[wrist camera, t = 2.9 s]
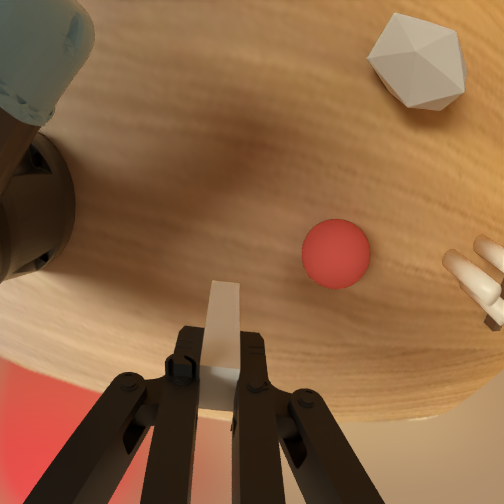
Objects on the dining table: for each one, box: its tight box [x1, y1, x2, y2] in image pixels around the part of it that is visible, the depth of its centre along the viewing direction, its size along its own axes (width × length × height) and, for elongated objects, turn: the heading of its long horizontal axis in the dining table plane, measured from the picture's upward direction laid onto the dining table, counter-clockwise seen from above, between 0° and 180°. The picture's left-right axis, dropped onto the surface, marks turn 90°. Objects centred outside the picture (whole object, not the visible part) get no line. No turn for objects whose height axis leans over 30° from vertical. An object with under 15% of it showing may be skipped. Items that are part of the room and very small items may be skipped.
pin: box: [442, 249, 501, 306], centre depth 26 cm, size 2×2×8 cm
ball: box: [302, 219, 370, 289], centre depth 26 cm, size 6×6×6 cm
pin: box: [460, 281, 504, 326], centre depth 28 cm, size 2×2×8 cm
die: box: [367, 12, 467, 111], centre depth 19 cm, size 8×9×10 cm
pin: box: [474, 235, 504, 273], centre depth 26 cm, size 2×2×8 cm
